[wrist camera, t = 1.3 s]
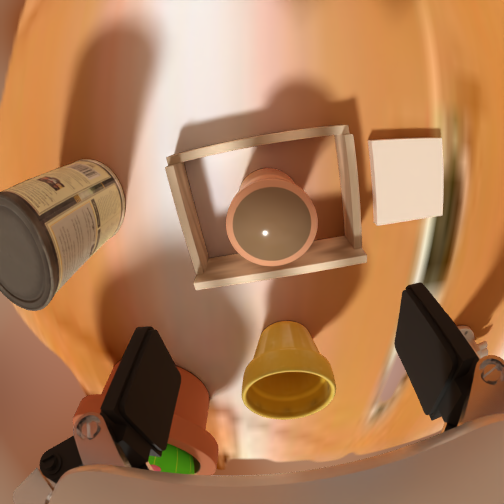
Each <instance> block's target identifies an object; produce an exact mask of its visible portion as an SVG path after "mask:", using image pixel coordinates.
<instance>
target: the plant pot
mask: <svg viewBox="0 0 504 504" xmlns="http://www.w3.org/2000/svg"><path fill="white" fill-rule="evenodd" d="M335 393H336V385H335V379H334V375H333V371H332V368H331V365H330V363H329V361H328V360H327V359H326V358H325V357H324V356H323V355H321V354H320V353H319V351H318V349H317V347H316V345H315V343H314V341H313V339H312V337H311V335H310V333H309V331H308V330H307V329H306V328H305V327H304V326H303V325H301V324H299V323H297V322H293V321H280V322H276V323H274V324H272V325H270V326H268V327H267V328H266V329H265V330H264V331H263V332H262V334H261V336H260V339H259V342H258V346H257V349H256V352H255V355H254V358H253V360H252V361H251V362H250V363H249V364H248V366H247V367H246V369H245V372H244V377H243V385H242V400H243V402H244V404H245V405H246V407H247V408H248V409H249V410H251V411H252V412H254V413H256V414H258V415H260V416H263V417H266V418H271V419H281V420H286V419H296V418H301V417H306V416H309V415H312V414H314V413H316V412H318V411H320V410H322V409H323V408H325V407H326V406H327V405H328V404H329V403H330V402H331V401H332V399H333V398H334V396H335Z"/></svg>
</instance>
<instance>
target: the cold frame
mask: <svg viewBox="0 0 504 504" xmlns="http://www.w3.org/2000/svg"><path fill="white" fill-rule="evenodd" d="M330 135H334V136H335V143H336V150H337V158H338V166H339V175H340V184H341V194H342V205H343V217H344V232H345V236H340V237H334V238H328V239H322V240H316V241H313V243H312V244H311V246H310V247H309V249H308V250H307V251H306V252H305V253H304V254H303V255H302V256H300V257H299V258H297V259H296V260H294V261H292V262H290V263H287V264H284V265H280V266H263V265H259V264H255V263H253V262H250V261H249V260H247V259H245V258H244V257H242V256H241V255H240V254H239V253H237V254H231V255H225V256H219V257H213V258H209V256H208V252H207V249H206V245H205V242H204V238H203V234H202V231H201V227H200V223H199V220H198V216H197V212H196V208H195V205H194V201H193V197H192V193H191V189H190V185H189V181H188V177H187V173H186V169H185V165H184V162H185V161H189V160H193V159H197V158H201V157H206V156H210V155H214V154H219V153H224V152H228V151H233V150H238V149H243V148H249V147H254V146H260V145H265V144H271V143H277V142H284V141H290V140H297V139H305V138H313V137H321V136H330ZM166 158H167V162H168V166H167V167H165V169H166V173H167V177H168V181H169V185H170V188H171V192H172V196H173V199H174V203H175V207H176V210H177V214H178V217H179V220H180V224H181V227H182V231H183V234H184V237H185V241H186V244H187V247H188V251H189V254H190V257H191V260H192V263H193V266H194V270H195V273H196V278H195V281H194V286H195V289H196V290H202V289H209V288H216V287H223V286H229V285H236V284H243V283H249V282H256V281H262V280H269V279H275V278H281V277H287V276H293V275H299V274H305V273H311V272H317V271H323V270H328V269H334V268H340V267H345V266H351V265H356V264H361V263H367V254H366V253H365V252H364V250H363V249H362V234H361V211H360V196H359V183H358V172H357V162H356V153H355V145H354V137H353V134H350V133H349V126H348V125H332V126H322V127H313V128H305V129H297V130H290V131H283V132H277V133H271V134H265V135H259V136H253V137H248V138H243V139H238V140H233V141H228V142H223V143H219V144H214V145H210V146H205V147H201V148H197V149H193V150H189V151H185V152H181V153H177V154H174V155H171V156H169V157H166Z"/></svg>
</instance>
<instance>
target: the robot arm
mask: <svg viewBox="0 0 504 504" xmlns="http://www.w3.org/2000/svg"><path fill="white" fill-rule="evenodd" d="M486 347H487V342H486V341H483V342H481V343H480V344H476V343H475V341H474V333H473V331H472V330H471V329H470V328H469V327H468V326H456V325H455V323H454V322H453V321H452V319H451V318H450V317H449V315H448V314H447V313H446V312H445V311H444V310H443V308H442V307H441V306H440V304H439V303H438V302H437V301H436V299H435V298H434V297H433V296H432V294H431V293H430V292H429V291H428V289H427V288H426V287H425V286H424V285H423V284H422V283H416V284H412V285H408V286H407V287H406V290H404V291H403V292H402V299H401V306H400V313H399V319H398V326H397V331H396V337H395V348H396V351H397V353H398V355H399V357H400V359H401V361H402V363H403V365H404V368H405V370H406V372H407V374H408V376H409V378H410V381H411V383H412V385H413V387H414V390H415V392H416V394H417V396H418V399H419V401H420V403H421V406H422V408H423V411H424V413H425V414H426V415H430V418H431V420H434V419H437V418H439V417H441V416H442V418H443V420H444V422H445V423H444V426H443V429H442V431H441V433H440V434H438V435H436V436H433V437H430V438H428V439H425V440H423V441H420V442H417V443H414V444H411V445H408V446H406V447H403V448H400V449H397V450H394V451H390V452H387V453H384V454H380V455H377V456H374V457H370V458H366V459H362V460H358V461H354V462H349V463H345V464H340V465H336V466H330V467H324V468H319V469H312V470H306V471H299V472H290V473H280V474H269V475H268V474H267V475H249V476H210V475H191V474H179V473H169V472H160V471H154V470H153V468H152V467H151V465H150V464H149V462H148V459H149V456H156V457H161V456H162V451H165V450H166V447H167V443H168V438H169V434H170V429H171V424H172V420H173V415H174V411H175V407H176V402H177V398H178V394H179V389H180V385H181V374H180V372H179V371H178V369H177V367H176V365H175V363H174V362H173V360H172V358H171V356H170V354H169V352H168V350H167V349H166V347H165V345H164V343H163V341H162V339H161V337H160V335H159V333H158V331H157V330H154V329H153V328H152V327H150V326H148V327H138V328H136V330H135V332H134V334H133V336H132V338H131V340H130V342H129V344H128V346H127V348H126V351H125V353H124V355H123V357H122V359H121V361H120V364H119V366H118V368H117V370H116V373H115V375H114V377H113V379H112V382H111V384H110V386H109V389H108V391H107V393H106V396H105V398H104V401H103V403H102V405H101V408H100V409H101V412H100V414H99V413H96V412H88V413H85V414H83V415H82V416H80V417H79V418H78V420H77V421H76V423H75V424H74V429H73V433H74V436H72V437H70V438H69V439H67V440H65V441H64V442H62V443H60V444H58V445H57V446H55V447H53V448H51V449H49V450H48V451H46V452H45V453H44V454H43V456H42V457H41V460H40V470H39V469H38V468H36V469H35V470H34V471H33V472H32V473H31V474H30V475H29V476H28V477H27V478H26V479H25V480H24V481H23V482H22V483H21V484H20V485H19V486H18V487H17V488H16V490H15V491H14V494H13V501H14V504H504V360H503V359H501V358H500V357H497V356H495V355H488V350H487V348H486ZM487 355H488V356H487Z"/></svg>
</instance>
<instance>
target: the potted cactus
mask: <svg viewBox="0 0 504 504" xmlns="http://www.w3.org/2000/svg"><path fill="white" fill-rule="evenodd" d="M120 361H121V360H120ZM120 361H119V362H118V363H117V364H116V365H115V366H114V368H113V370H112V372H111V374H110V376H109V379H108V381H107V383H106V385H105V387H104V390H103V392H102V394H101V395H99V394H96V395H89V396H86V397H84V398H83V399H82V401H81V402H80V404H79V407H78V408H77V411H76V413H75V415H74V417H73V425H74V424H75V423H76V421H77V420H78V418H79V417H80V416H82V415H83V414H85V413H88V412H96V413H99V414H100V412H101V409H100V408H101V405H102V403H103V401H104V398H105V396H106V393H107V391H108V389H109V386H110V384H111V382H112V379H113V377H114V375H115V373H116V370H117V368H118V366H119V364H120ZM176 367H177V369H178V371H179V372H180V374H181V385H180V389H179V394H178V398H177V402H176V407H175V411H174V415H173V420H172V424H171V429H170V434H169V438H168V443H167V447H166V450H165V451H162V456H161V457H156V456H149V459H148V462H149V464H150V465H151V467H152V468H153V470H154V471H160V472H169V473H179V474H191V475H210V476H211V475H212V474H214V473H215V471H216V468H217V459H218V444H217V442H216V440H215V439H214V437H213V436H212V435H211V434H210V433H208V432H207V431H206V430H205V429H206V422H207V415H208V408H209V394H208V391H207V389H206V387H205V386H204V384H203V383H202V382H201V381H200V380H199V379H198V378H197V377H195V376H194V375H193V374H191V373H190V372H188V371H186V370H184V369H182V368H180V367H178V366H176Z"/></svg>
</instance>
